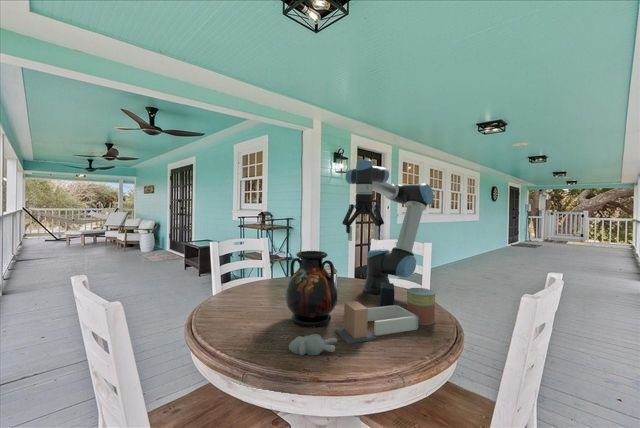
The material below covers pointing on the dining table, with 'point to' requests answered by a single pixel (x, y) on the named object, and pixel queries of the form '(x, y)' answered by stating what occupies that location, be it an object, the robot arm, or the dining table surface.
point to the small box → (387, 294)
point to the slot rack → (400, 320)
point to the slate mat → (350, 339)
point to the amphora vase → (311, 290)
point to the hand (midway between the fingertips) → (363, 240)
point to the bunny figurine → (311, 345)
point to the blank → (355, 319)
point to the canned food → (422, 304)
